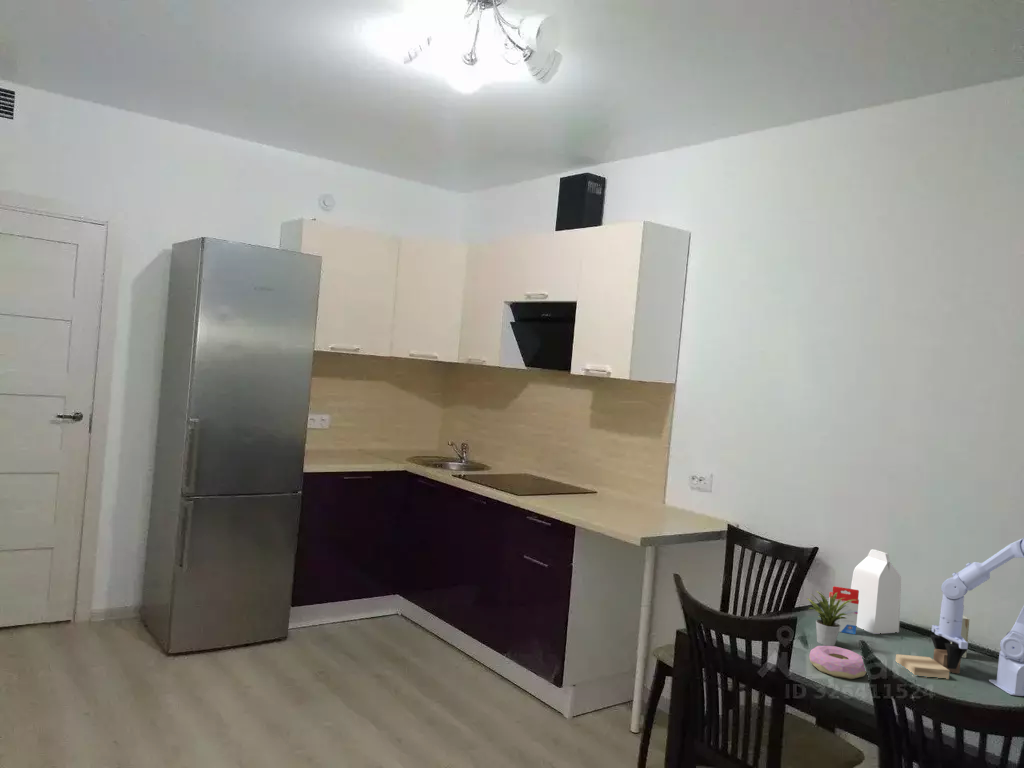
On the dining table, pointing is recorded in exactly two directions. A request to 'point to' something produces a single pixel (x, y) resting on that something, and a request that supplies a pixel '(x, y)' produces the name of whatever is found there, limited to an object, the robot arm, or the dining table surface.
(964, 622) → the skincare box
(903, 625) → the dining table surface
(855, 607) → the ink box
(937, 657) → the walnut cube
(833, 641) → the house plant
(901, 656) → the oak block
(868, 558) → the milk
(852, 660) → the donut
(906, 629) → the dining table surface
